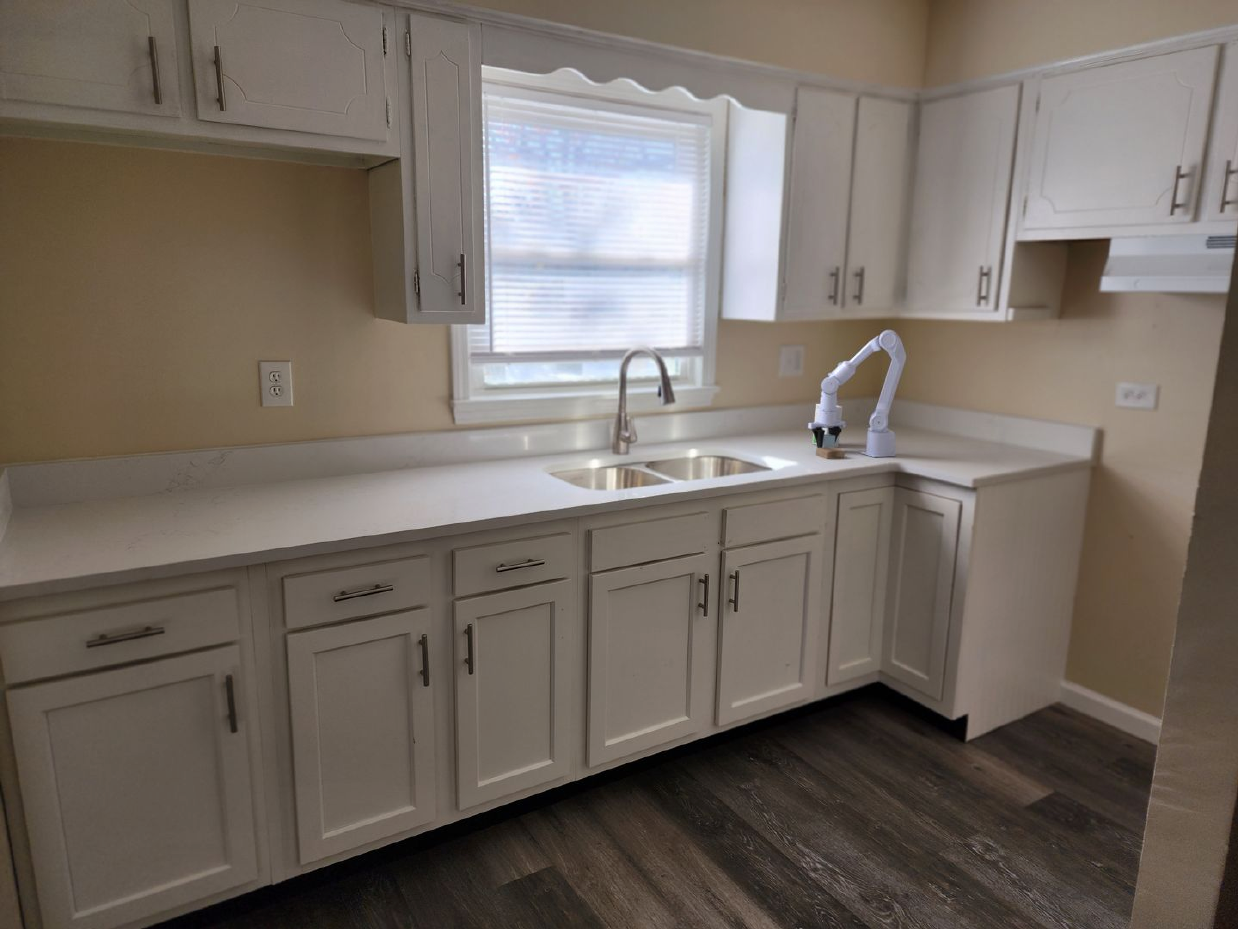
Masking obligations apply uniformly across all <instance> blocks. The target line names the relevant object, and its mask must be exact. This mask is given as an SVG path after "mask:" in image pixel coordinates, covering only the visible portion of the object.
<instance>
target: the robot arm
mask: <svg viewBox="0 0 1238 929" xmlns="http://www.w3.org/2000/svg"><path fill="white" fill-rule="evenodd" d="M882 348H883V350H885V351H886V352H887V353H888V356H889V357H890V358H891V361H890V364H889V368H888V370H887V373H886V376H885V380H884V382H883V386H882V390H881V393H880V395H879V399H878V402H877V403H876V404H877V405H876V408H875V410H874V411H873V412H872V413H871V415H870V417H869V422H868V423H869V427H867V433H866V447H865V448H866V449H865V451H860V454H862V455H866V456H869V457H871V458H881V457H882V458H884V457H885V458H887V457H896V453H895V451H896V439H897V438H896V434H895V432H894V431H893V430H892V429H889V428H888V425H889V414H890V410H891V407H892V403H893V401H894V397H895V394H896V390H897V389H898V385H899V382H900V379H901V376H902V372H903V369H904V367H905V364H906V361H907V354H906V350H905V348H904V345H903V342H902V338H900V336H899V335H898V333H897V332H896V331H895V330H893V329H886V330H884V331H882V332H881V333H880V335H876V336H875V337H874V338H873V339H871V340H869V342H868V343H867V344H866V345H864V346H863V347H862V348H861V350H859V351H858V352H857V353H856V354H855V355H854V357H852V358H851V359H850V360H848V361H847V360H845V361H844V360H843V361H842V362H841V361H840V362H839V363H838V364H837V367H835V369H834V370H833V371H832V372H829V373H828V374H827V377H825V378H824V379H823V380H822V382H821V384H820V388H821V393H820V396H821V397H820V403H819V404H820V416H819V422H815V421H814V422H808V423H807V424H808V426H807V429H811V431H812V434H813V433H814V436H815V439H816V443H817V445H816V448H822V444H823V437H824V433H825V430H823V429H822V428H828V430H829V434H830V435H834V436H835V442H836V440H837V437H838V436H839V434H841V432H842V430H843V428H846V425H847V424H846V421H842V420H841V421H836V407H837V406H838V396H837V393H838V392H837V391H838V389H839V387H840V386H843V385H844V384H845V383H846V382H847V381H848V380H849V379H850V378H851V377H852V376H853V375H854V374H855V373H856V368H857V367H858V366H859V365H861V363H862V362H863V361H864V360H866V359H867V358H868V357H869V356H870V355H872V353H875V352H878V351H881V350H882ZM839 437H840V436H839Z"/></svg>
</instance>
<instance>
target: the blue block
mask: <svg viewBox="0 0 1238 929" xmlns="http://www.w3.org/2000/svg"><path fill="white" fill-rule="evenodd" d="M834 446H835V436H834V435H830V434H824V437H823V444H822V448H825V447H834Z"/></svg>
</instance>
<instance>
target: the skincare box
mask: <svg viewBox="0 0 1238 929" xmlns="http://www.w3.org/2000/svg"><path fill="white" fill-rule="evenodd" d="M843 408H844V407H843V406H840V405H837V407H836V421H842V415H843ZM819 416H820V403H815V414H814V422H819ZM822 429H823V430H825V433H824V434H829V430H828V428H822ZM812 434H813V435H812V445H816V446H817V443H816V439H815V436H814V433H813V432H812ZM840 434H841V433H840ZM840 434H839V436H838V437H837V440H836V442H835V446H834V447H835V448H839V443H840Z"/></svg>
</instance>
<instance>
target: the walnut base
mask: <svg viewBox="0 0 1238 929" xmlns="http://www.w3.org/2000/svg"><path fill="white" fill-rule="evenodd" d="M845 452H846V450H843V449H840V448H839V447H825V448H817V447H816V448H815V456H817V457H820V458H823V459H825V460H837V459H845V455H846V454H845Z"/></svg>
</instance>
